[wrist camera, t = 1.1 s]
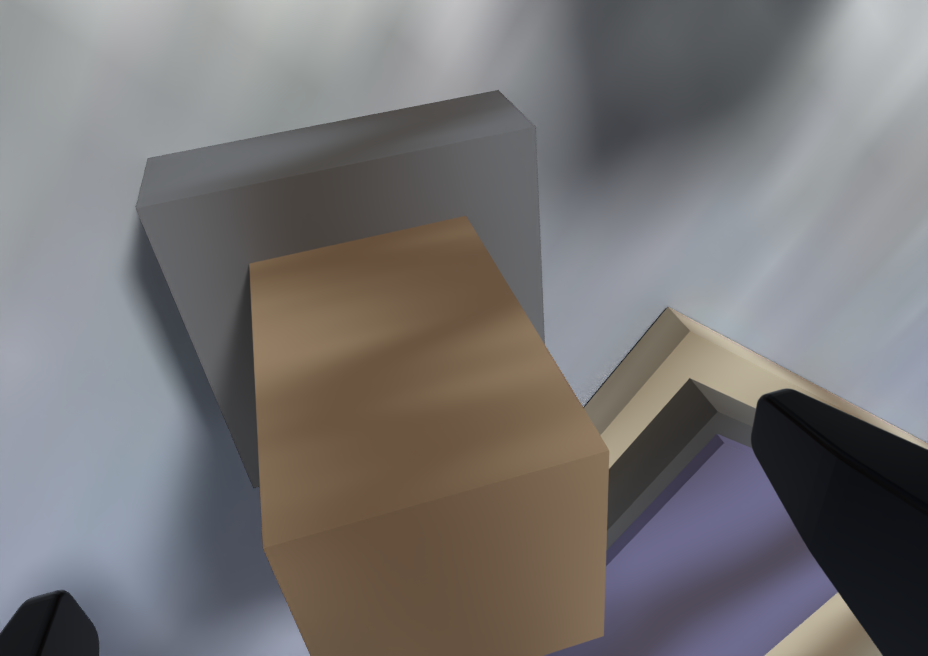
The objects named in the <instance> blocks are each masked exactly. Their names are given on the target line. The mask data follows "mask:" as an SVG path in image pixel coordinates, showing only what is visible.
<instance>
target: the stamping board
mask: <svg viewBox="0 0 928 656" xmlns="http://www.w3.org/2000/svg"><path fill="white" fill-rule="evenodd" d="M785 388H790V389H794V390H796V391H799V392H801V393H803V394H805V395H808V396H810V397H812V398H814V399H817V400H819V401H821V402H823V403H826V404H828V405H830V406H832V407H834V408H837V409H839V410H841V411H843V412H846V413H848V414H850V415H852V416H854V417H857V418H859V419H861V420H863V421H866V422H868V423H870V424H872V425H875V426H877V427H879V428H881V429H883V430H886V431H888V432H890V433H892V434H895V435H897V436H899V437H901V438H903V439H906V440H908V441H910V442H912V443H915V444H917V445H919V446H921V447H924V448H926V449H928V443H926V442H924V441H922V440H920V439H918V438H916V437H914V436H912V435H910V434H909V433H907V432H905V431H903V430H901V429H899V428H897V427H895V426H893V425H891V424H890V423H888V422H886V421H884V420H882V419H880V418H878V417H876V416H874V415H873V414H871V413H869V412H867V411H865V410H863V409H861V408H859V407H857V406H855V405H854V404H852V403H850V402H848V401H846V400H844V399H842V398H840V397H838V396H836V395H835V394H833V393H831V392H829V391H827V390H825V389H823V388H821V387H819V386H817V385H816V384H814V383H812V382H810V381H808V380H806V379H804V378H802V377H800V376H798V375H797V374H795V373H793V372H791V371H789V370H787V369H785V368H783V367H781V366H779V365H778V364H776V363H774V362H772V361H770V360H768V359H766V358H764V357H762V356H760V355H759V354H757V353H755V352H753V351H751V350H749V349H747V348H745V347H743V346H741V345H740V344H738V343H736V342H734V341H732V340H730V339H728V338H726V337H724V336H722V335H721V334H719V333H717V332H715V331H713V330H711V329H709V328H707V327H705V326H703V325H702V324H700V323H698V322H696V321H694V320H692V319H690V318H688V317H686V316H684V315H683V314H681V313H679V312H677V311H675V310H673V309H671V308H669V307H667V309H666V310H665V311H664V312H663V313H662V315H661V316H660V317H659V318H658V319H657V321H656V322H655V323H654V324H653V325H652V327H651V328H650V329H649V330H648V331H647V333H646V334H645V335H644V336H643V337H642V339H641V340H640V341H639V342H638V343H637V345H636V346H635V347H634V348H633V350H632V351H631V352H630V353H629V354H628V356H627V357H626V358H625V359H624V360H623V362H622V363H621V364H620V365H619V366H618V368H617V369H616V370H615V371H614V372H613V374H612V375H611V376H610V377H609V378H608V380H607V381H606V382H605V383H604V384H603V386H602V387H601V388H600V389H599V390H598V392H597V393H596V394H595V395H594V396H593V398H592V399H591V400H590V401H589V402H588V404H587V405H586V406H585V407H584V410H585V411H586V413H587V415H588V416H589V418H590V420H591V421H592V423H593V424H594V426H595V428H596V429H597V431H598V433H599V434H600V436H601V438H602V439H603V441H604V442H605V444H606V446H607V447H608V449H609V480H608V513H607V546H606V579H605V612H604V636H602V637H599V638H596V639H593V640H590V641H587V642H584V643H581V644H578V645H575V646H572V647H568V648H565V649H562V650H559V651H556V652H553V653H550V654H547V655H544V656H883V655H882V654H881V653H880V651H879V650H878V648H877V647H876V646H875V644H874V643H873V641H872V640H871V638H870V637H869V636H868V634H867V633H866V631H865V630H864V629H863V627H862V626H861V624H860V623H859V621H858V620H857V619H856V617H855V616H854V614H853V613H852V612H851V610H850V609H849V607H848V606H847V604H846V603H845V602H844V600H843V599H842V597H841V596H840V594H839V593H838V592H837V590H836V589H835V587H834V586H833V585H832V583H831V582H830V580H829V579H828V577H827V576H826V575H825V573H824V572H823V570H822V569H821V568H820V566H819V565H818V563H817V562H816V560H815V559H814V557H813V556H812V554H811V553H810V551H809V550H808V548H807V546H806V545H805V543H804V541H803V540H802V538H801V536H800V535H799V533H798V531H797V529H796V528H795V526H794V524H793V522H792V520H791V519H790V517H789V515H788V513H787V512H786V510H785V508H784V506H783V504H782V503H781V501H780V499H779V497H778V495H777V494H776V492H775V490H774V488H773V487H772V485H771V483H770V481H769V479H768V478H767V476H766V474H765V472H764V470H763V469H762V467H761V465H760V463H759V462H758V460H757V458H756V456H755V454H754V452H753V449H752V446H751V431H752V426H753V421H754V416H755V410H756V405H757V401H758V399H759V398H760V397H761V396H762V395H764V394H766V393H770V392H773V391H777V390H781V389H785Z"/></svg>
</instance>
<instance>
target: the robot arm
mask: <svg viewBox="0 0 928 656" xmlns="http://www.w3.org/2000/svg"><path fill="white" fill-rule="evenodd" d="M751 446H752V449H753V452H754V454H755V456H756V458H757V460H758V462H759V463H760V465H761V467H762V469H763V470H764V472H765V474H766V476H767V478H768V479H769V481H770V483H771V485H772V487H773V488H774V490H775V492H776V494H777V495H778V497H779V499H780V501H781V503H782V504H783V506H784V508H785V510H786V512H787V513H788V515H789V517H790V519H791V520H792V522H793V524H794V526H795V528H796V529H797V531H798V533H799V535H800V536H801V538H802V540H803V541H804V543H805V545H806V546H807V548H808V550H809V551H810V553H811V554H812V556H813V557H814V559H815V560H816V562H817V563H818V565H819V566H820V568H821V569H822V570H823V572H824V573H825V575H826V576H827V577H828V579H829V580H830V582H831V583H832V585H833V586H834V587H835V589H836V590H837V592H838V593H839V594H840V596H841V597H842V599H843V600H844V602H845V603H846V604H847V606H848V607H849V609H850V610H851V612H852V613H853V614H854V616H855V617H856V619H857V620H858V621H859V623H860V624H861V626H862V627H863V629H864V630H865V631H866V633H867V634H868V636H869V637H870V638H871V640H872V641H873V643H874V644H875V646H876V647H877V648H878V650H879V651H880V653H881V654H882V655H883V656H928V449H926V448H924V447H921V446H919V445H917V444H915V443H912V442H910V441H908V440H906V439H903V438H901V437H899V436H897V435H895V434H892V433H890V432H888V431H886V430H883V429H881V428H879V427H877V426H875V425H872V424H870V423H868V422H866V421H863V420H861V419H859V418H857V417H854V416H852V415H850V414H848V413H846V412H843V411H841V410H839V409H837V408H834V407H832V406H830V405H828V404H826V403H823V402H821V401H819V400H817V399H814V398H812V397H810V396H808V395H805V394H803V393H801V392H799V391H796V390H794V389H790V388H785V389H781V390H777V391H773V392H770V393H766V394H764V395H762V396H761V397H760V398H759V399H758V401H757V405H756V410H755V416H754V421H753V426H752V431H751ZM0 656H99V639H98V634H97V631H96V628H95V626H94V625H93V623H92V622H91V621H90V619H89V618H88V617H87V615H86V614H85V613H84V611H83V610H82V609H81V607H80V606H79V605H78V603H77V602H76V601H75V599H74V598H73V597H72V596H71V594H70V593H69V592H67V591H64V590H57V591H54V592H50V593H46V594H43V595H39V596H36V597H33V598H30V599H28V600H27V601H25V602H24V603H23V604H22V605H21V606H20V607H19V609H18V610H17V611H16V613H15V614H14V615H13V617H12V618H11V619H10V621H9V622H8V623H7V625H6V626H5V627H4V629H3V630H2V631H1V633H0Z"/></svg>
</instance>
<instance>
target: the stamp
mask: <svg viewBox="0 0 928 656" xmlns="http://www.w3.org/2000/svg"><path fill="white" fill-rule="evenodd" d="M136 210H137V213H138V215H139V217H140V220H141V222H142V224H143V227H144V229H145V232H146V234H147V236H148V239H149V241H150V243H151V246H152V248H153V251H154V253H155V255H156V258H157V260H158V262H159V265H160V267H161V270H162V272H163V274H164V277H165V279H166V281H167V284H168V286H169V289H170V291H171V293H172V296H173V298H174V300H175V303H176V305H177V308H178V310H179V312H180V315H181V317H182V319H183V322H184V324H185V327H186V329H187V331H188V334H189V336H190V338H191V341H192V343H193V346H194V348H195V350H196V353H197V355H198V357H199V360H200V362H201V365H202V367H203V369H204V372H205V374H206V376H207V379H208V381H209V384H210V386H211V388H212V391H213V393H214V395H215V398H216V400H217V403H218V405H219V407H220V410H221V412H222V414H223V417H224V419H225V422H226V424H227V426H228V429H229V431H230V433H231V436H232V438H233V441H234V443H235V445H236V448H237V450H238V452H239V455H240V457H241V460H242V462H243V464H244V467H245V469H246V471H247V474H248V476H249V479H250V481H251V483H252V486H253V488H256V487H260V498H261V519H262V540H263V550H264V552H265V554H266V556H267V559H268V561H269V563H270V565H271V568H272V570H273V572H274V575H275V577H276V579H277V581H278V584H279V586H280V588H281V590H282V593H283V595H284V597H285V599H286V602H287V604H288V606H289V608H290V611H291V613H292V615H293V617H294V620H295V622H296V624H297V626H298V629H299V631H300V633H301V635H302V638H303V640H304V642H305V645H306V647H307V649H308V651H309V654H310V656H544V655H547V654H550V653H553V652H556V651H559V650H562V649H565V648H568V647H572V646H575V645H578V644H581V643H584V642H587V641H590V640H593V639H596V638H599V637H602V636H604V612H605V579H606V546H607V513H608V480H609V449H608V447H607V446H606V444H605V442H604V441H603V439H602V438H601V436H600V434H599V433H598V431H597V429H596V428H595V426H594V424H593V423H592V421H591V420H590V418H589V416H588V415H587V413H586V411H585V410H584V408H583V406H582V405H581V403H580V402H579V400H578V398H577V397H576V395H575V393H574V392H573V390H572V388H571V387H570V385H569V384H568V382H567V380H566V379H565V377H564V375H563V374H562V372H561V370H560V369H559V367H558V366H557V364H556V362H555V361H554V359H553V357H552V356H551V354H550V352H549V351H548V349H547V348H546V346H545V336H544V313H543V290H542V266H541V243H540V219H539V196H538V172H537V149H536V126H534V125H533V124H532V123H531V122H530V121H529V120H528V119H527V118H526V117H525V116H524V115H523V114H522V113H521V112H520V111H519V110H518V109H517V108H516V107H515V106H514V105H513V104H512V103H511V102H510V101H509V100H508V99H507V98H506V97H505V96H504V95H503V94H502V93H501V92H500V91H499V90H497V91H491V92H486V93H481V94H476V95H471V96H466V97H460V98H455V99H450V100H445V101H440V102H435V103H430V104H424V105H419V106H414V107H409V108H404V109H399V110H393V111H388V112H383V113H378V114H373V115H368V116H363V117H357V118H352V119H347V120H342V121H337V122H332V123H327V124H321V125H316V126H311V127H306V128H301V129H296V130H290V131H285V132H280V133H275V134H270V135H265V136H260V137H254V138H249V139H244V140H239V141H234V142H229V143H223V144H218V145H213V146H208V147H203V148H198V149H193V150H187V151H182V152H177V153H172V154H167V155H162V156H157V157H151V158H148V160H147V164H146V168H145V172H144V176H143V180H142V184H141V188H140V193H139V197H138V201H137V205H136Z"/></svg>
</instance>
